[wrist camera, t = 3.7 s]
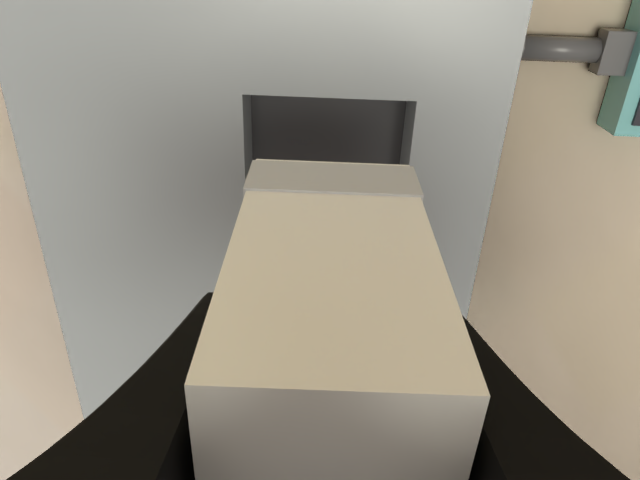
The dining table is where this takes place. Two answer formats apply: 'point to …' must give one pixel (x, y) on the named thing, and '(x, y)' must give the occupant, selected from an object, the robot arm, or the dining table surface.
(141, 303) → the outlet plate
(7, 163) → the dining table surface
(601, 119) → the phone with cable
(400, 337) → the charger plug
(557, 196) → the dining table surface
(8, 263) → the dining table surface
